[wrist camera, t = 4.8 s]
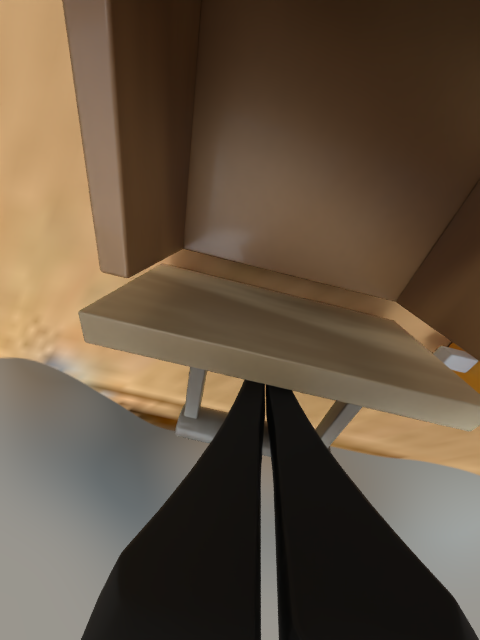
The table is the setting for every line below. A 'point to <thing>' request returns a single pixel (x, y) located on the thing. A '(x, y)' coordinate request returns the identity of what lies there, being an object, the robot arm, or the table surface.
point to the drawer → (286, 192)
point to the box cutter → (461, 364)
